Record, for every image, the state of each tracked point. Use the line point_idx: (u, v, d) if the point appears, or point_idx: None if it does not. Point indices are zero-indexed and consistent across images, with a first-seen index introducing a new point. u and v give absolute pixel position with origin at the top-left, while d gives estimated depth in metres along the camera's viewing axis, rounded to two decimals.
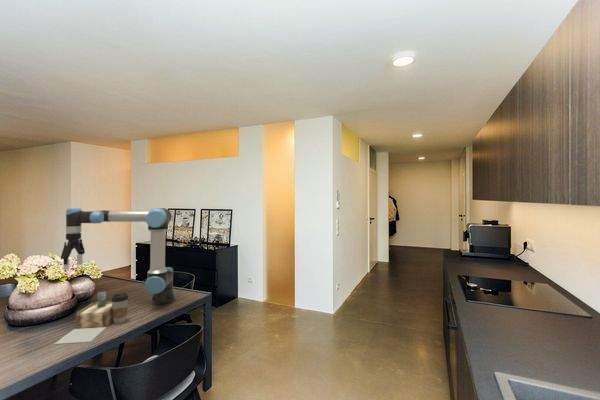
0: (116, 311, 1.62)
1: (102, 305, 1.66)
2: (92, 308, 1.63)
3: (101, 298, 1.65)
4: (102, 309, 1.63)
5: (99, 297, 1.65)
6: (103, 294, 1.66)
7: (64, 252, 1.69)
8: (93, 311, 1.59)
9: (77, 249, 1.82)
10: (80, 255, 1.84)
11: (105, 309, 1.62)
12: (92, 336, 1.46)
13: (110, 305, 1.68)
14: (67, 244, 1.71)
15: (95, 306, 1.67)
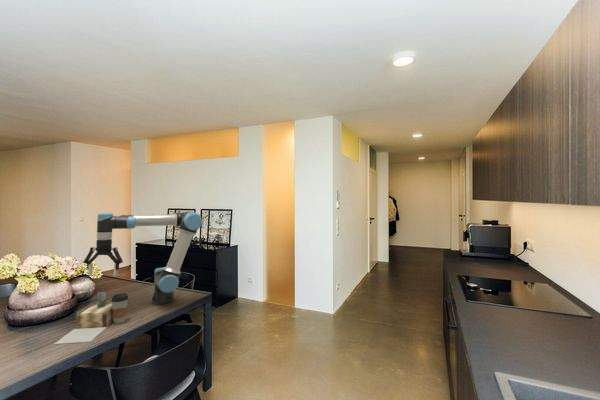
0: (116, 311, 1.62)
1: (102, 305, 1.66)
2: (92, 308, 1.63)
3: (101, 298, 1.65)
4: (102, 309, 1.63)
5: (99, 297, 1.65)
6: (103, 294, 1.66)
7: None
8: (93, 311, 1.59)
9: None
10: None
11: (105, 309, 1.62)
12: (92, 336, 1.46)
13: (110, 305, 1.68)
14: None
15: (95, 306, 1.67)
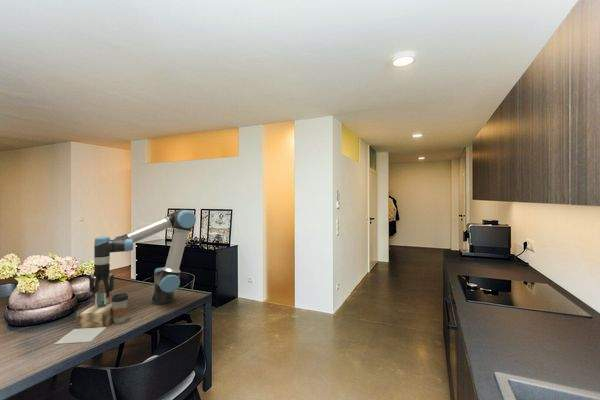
0: (116, 311, 1.62)
1: (102, 305, 1.66)
2: (92, 308, 1.63)
3: (101, 298, 1.65)
4: (102, 309, 1.63)
5: (99, 297, 1.65)
6: (103, 294, 1.66)
7: None
8: (93, 311, 1.59)
9: None
10: None
11: (105, 309, 1.62)
12: (92, 336, 1.46)
13: (110, 305, 1.68)
14: None
15: (95, 306, 1.67)
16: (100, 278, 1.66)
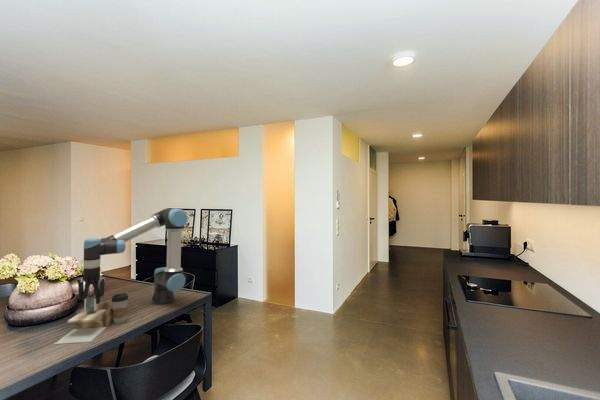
0: (116, 311, 1.61)
1: (92, 311, 1.55)
2: (81, 315, 1.53)
3: (91, 304, 1.55)
4: (91, 316, 1.52)
5: (88, 303, 1.55)
6: (93, 300, 1.55)
7: None
8: (81, 318, 1.49)
9: None
10: None
11: (94, 316, 1.52)
12: (92, 336, 1.46)
13: (100, 311, 1.58)
14: None
15: (84, 312, 1.56)
16: (90, 283, 1.55)
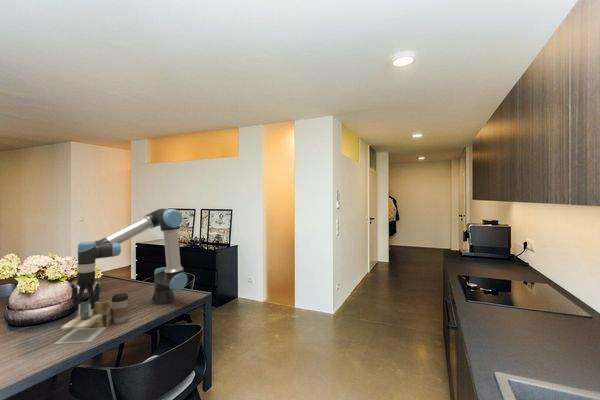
0: (116, 311, 1.62)
1: (86, 317, 1.50)
2: (75, 321, 1.48)
3: (85, 310, 1.49)
4: (86, 322, 1.47)
5: (83, 308, 1.49)
6: (87, 305, 1.50)
7: None
8: (75, 324, 1.43)
9: None
10: None
11: (89, 322, 1.46)
12: (92, 336, 1.46)
13: (95, 317, 1.52)
14: None
15: (78, 318, 1.51)
16: (84, 287, 1.50)
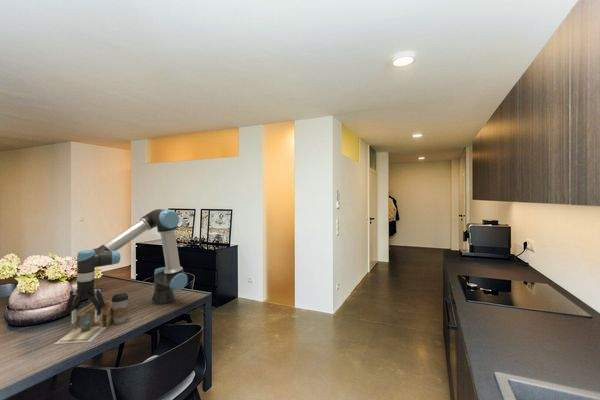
0: (116, 311, 1.62)
1: (86, 329, 1.50)
2: (75, 333, 1.47)
3: (85, 322, 1.49)
4: (86, 334, 1.47)
5: (83, 320, 1.49)
6: (87, 317, 1.50)
7: None
8: (75, 337, 1.43)
9: None
10: None
11: (89, 334, 1.46)
12: (92, 336, 1.46)
13: (95, 329, 1.52)
14: None
15: (78, 330, 1.50)
16: (84, 296, 1.50)
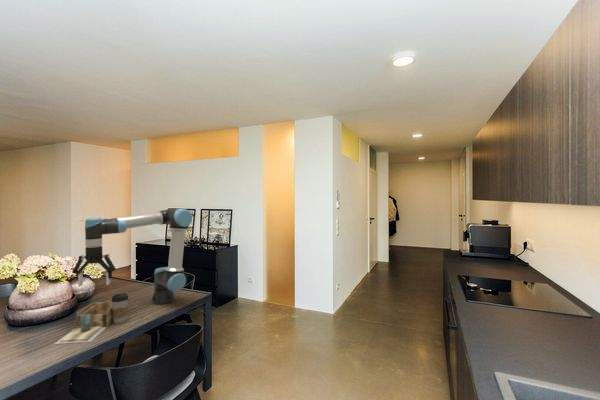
0: (116, 311, 1.61)
1: (86, 329, 1.50)
2: (75, 333, 1.47)
3: (85, 322, 1.49)
4: (86, 334, 1.47)
5: (83, 320, 1.49)
6: (87, 317, 1.50)
7: None
8: (75, 337, 1.43)
9: None
10: None
11: (89, 334, 1.46)
12: (92, 336, 1.46)
13: (95, 329, 1.52)
14: None
15: (78, 330, 1.50)
16: (92, 262, 1.55)
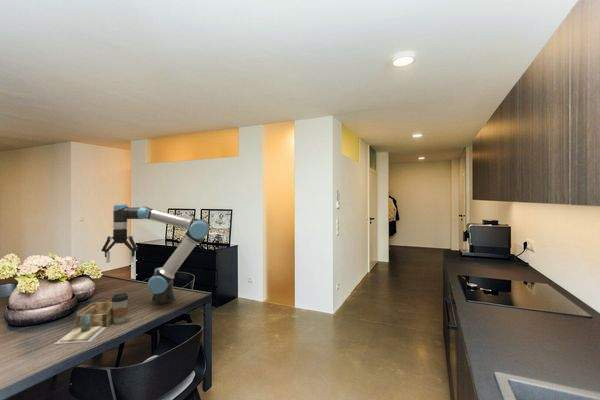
0: (116, 311, 1.62)
1: (86, 329, 1.50)
2: (75, 333, 1.47)
3: (85, 322, 1.49)
4: (86, 334, 1.47)
5: (83, 320, 1.49)
6: (87, 317, 1.50)
7: None
8: (75, 337, 1.43)
9: None
10: None
11: (89, 334, 1.46)
12: (92, 336, 1.46)
13: (95, 329, 1.52)
14: None
15: (78, 330, 1.50)
16: (118, 242, 1.80)
